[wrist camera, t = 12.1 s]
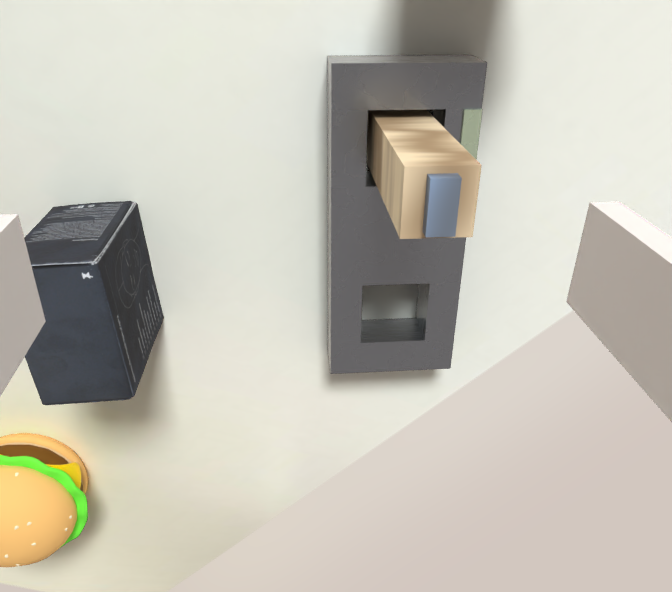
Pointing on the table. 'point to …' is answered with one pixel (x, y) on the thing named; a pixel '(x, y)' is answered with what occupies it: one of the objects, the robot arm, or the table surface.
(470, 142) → the panel
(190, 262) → the table surface
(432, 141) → the plug
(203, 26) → the table surface
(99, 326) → the box
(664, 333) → the robot arm
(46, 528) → the toy hamburger
